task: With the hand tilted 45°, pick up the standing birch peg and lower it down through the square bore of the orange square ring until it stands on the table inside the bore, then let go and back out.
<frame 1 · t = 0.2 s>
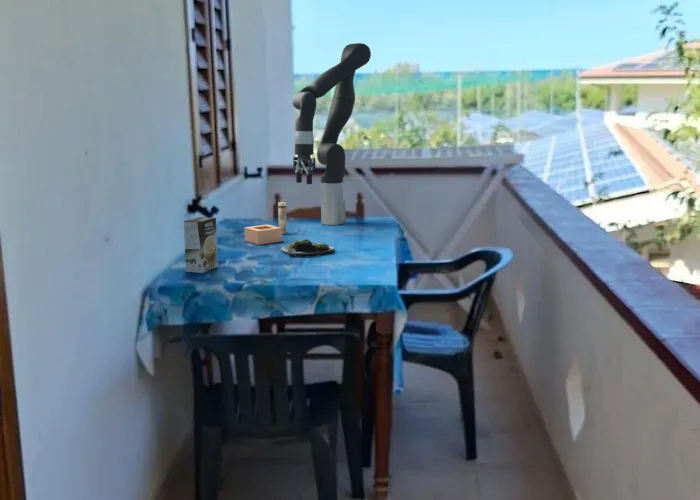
hand: (304, 183, 318), 18 cm above the table, tool pointing down, fingers open, 8 cm apart
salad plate: (307, 253, 273), on the table
orange square ring: (263, 240, 294), on the table
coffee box: (202, 270, 248), on the table
birch peg: (282, 233, 309), on the table
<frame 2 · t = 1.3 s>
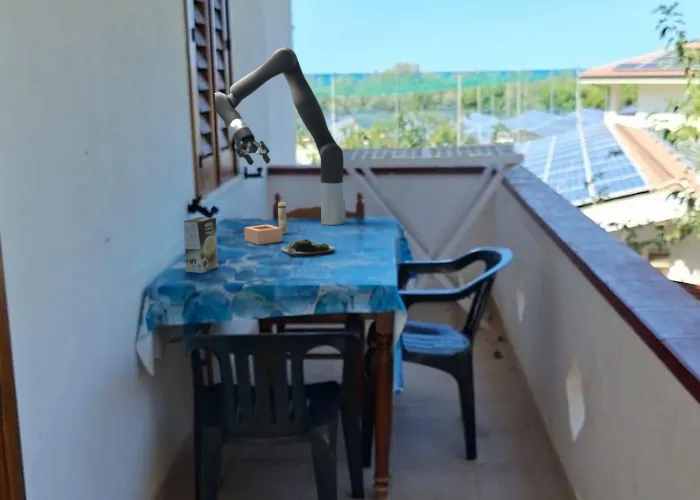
hand: (260, 163, 312), 27 cm above the table, tool tilted 45°, fingers open, 8 cm apart
nothing on the table moved.
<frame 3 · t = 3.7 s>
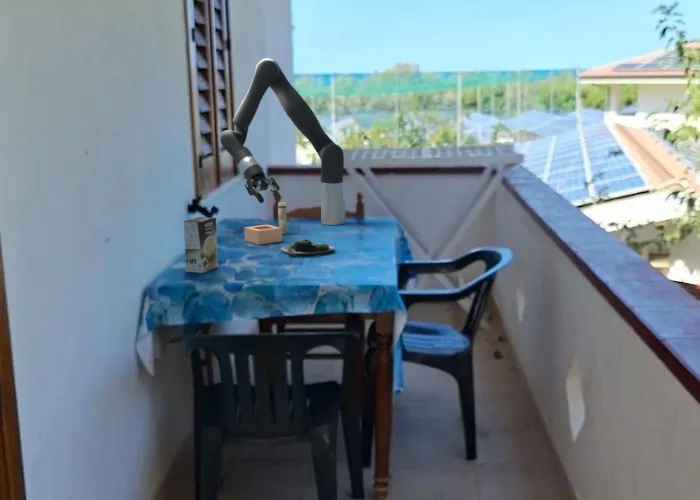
hand: (271, 200, 311), 12 cm above the table, tool tilted 45°, fingers open, 8 cm apart
nothing on the table moved.
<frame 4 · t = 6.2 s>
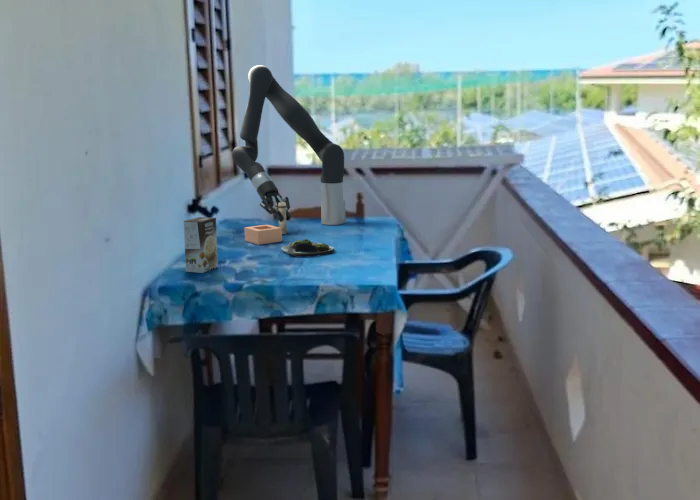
hand: (285, 219, 306), 6 cm above the table, tool tilted 45°, fingers closed on birch peg, 3 cm apart
birch peg: (282, 233, 309), on the table, touching gripper
everything else where it was.
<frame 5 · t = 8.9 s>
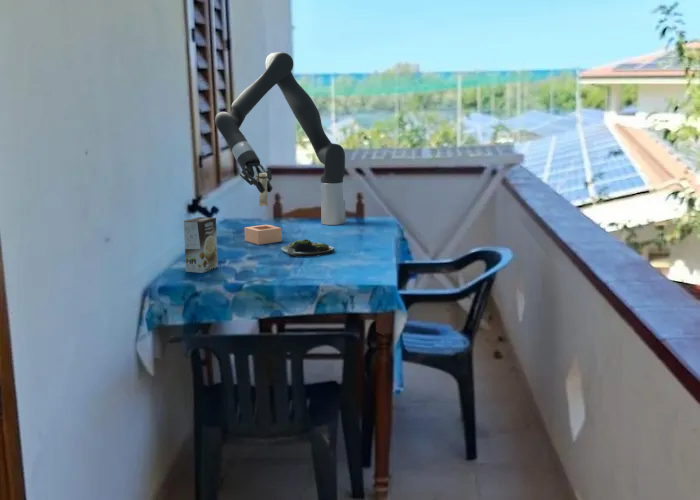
hand: (266, 191, 291), 18 cm above the table, tool tilted 45°, fingers closed on birch peg, 3 cm apart
birch peg: (263, 205, 294), point 13 cm above the table, touching gripper
everything else where it was.
when the fingers open (8 cm above the table, at t = 11.8 s): birch peg drops 2 cm, resting in orange square ring.
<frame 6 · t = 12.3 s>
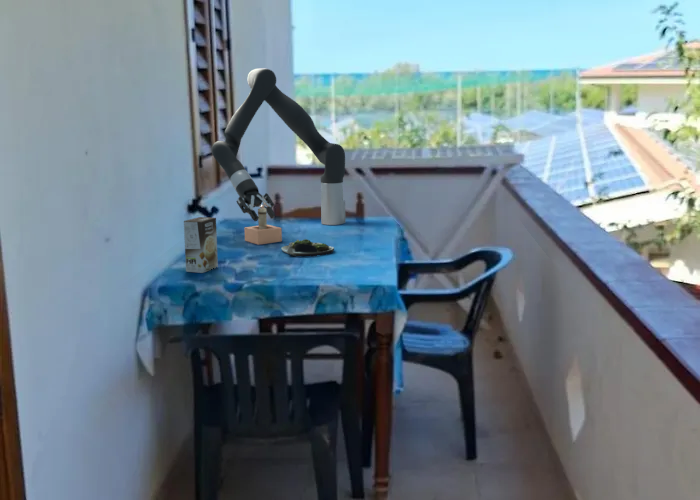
hand: (265, 218, 291), 9 cm above the table, tool tilted 45°, fingers open, 7 cm apart
birch peg: (263, 240, 294), resting in orange square ring
everything else where it was.
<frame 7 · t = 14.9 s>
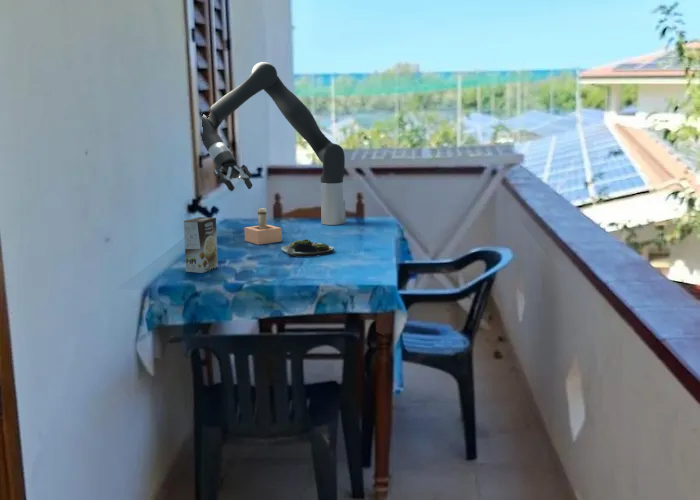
hand: (241, 188, 297), 19 cm above the table, tool tilted 45°, fingers open, 8 cm apart
nothing on the table moved.
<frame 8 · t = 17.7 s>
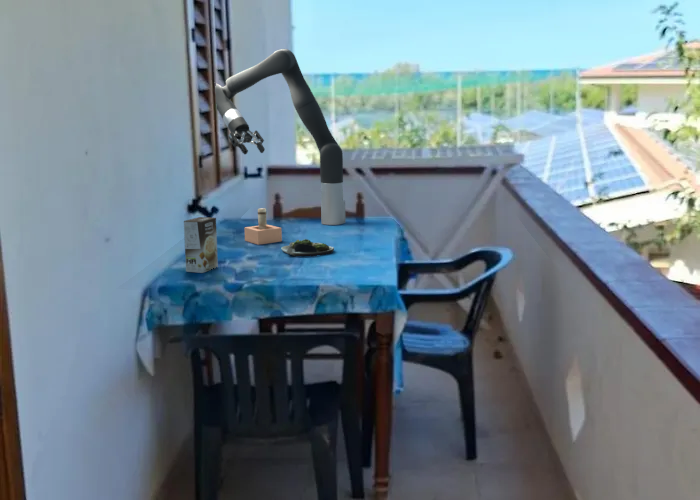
hand: (254, 152, 315), 31 cm above the table, tool tilted 45°, fingers open, 8 cm apart
nothing on the table moved.
at the end: birch peg 0.1 cm from the orange square ring (horizontally); birch peg resting in orange square ring; the gripper is holding nothing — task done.
